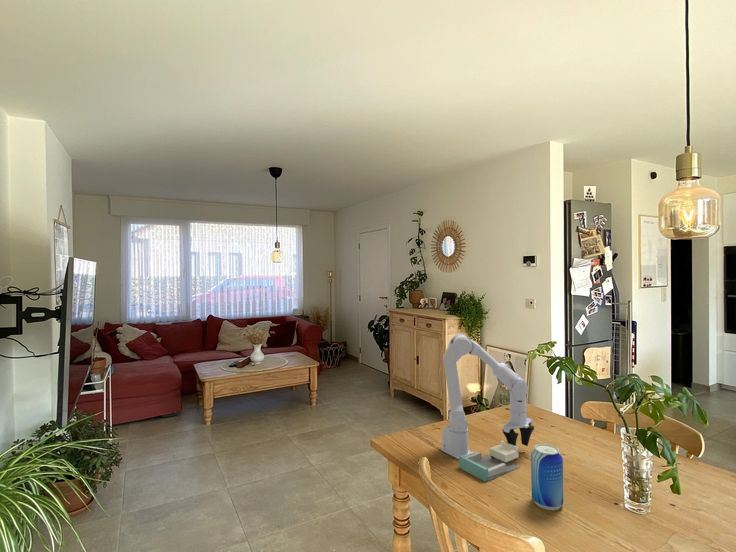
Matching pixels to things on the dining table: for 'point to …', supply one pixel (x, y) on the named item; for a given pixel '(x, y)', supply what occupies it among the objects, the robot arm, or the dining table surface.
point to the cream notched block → (505, 452)
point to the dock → (485, 466)
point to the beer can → (547, 477)
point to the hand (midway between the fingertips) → (518, 447)
